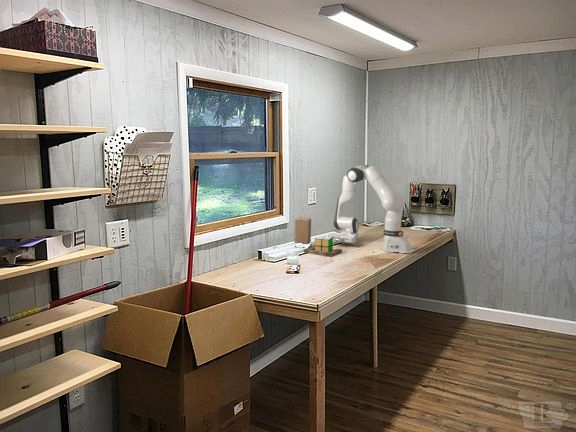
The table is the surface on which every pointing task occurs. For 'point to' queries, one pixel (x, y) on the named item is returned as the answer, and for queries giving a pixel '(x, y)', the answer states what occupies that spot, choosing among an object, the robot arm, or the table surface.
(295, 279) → the table surface
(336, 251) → the walnut bay
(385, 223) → the robot arm
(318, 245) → the puzzle cube
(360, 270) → the table surface
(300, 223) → the wooden block
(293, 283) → the table surface
